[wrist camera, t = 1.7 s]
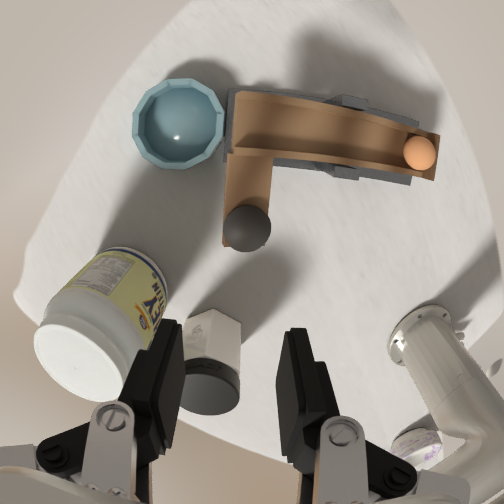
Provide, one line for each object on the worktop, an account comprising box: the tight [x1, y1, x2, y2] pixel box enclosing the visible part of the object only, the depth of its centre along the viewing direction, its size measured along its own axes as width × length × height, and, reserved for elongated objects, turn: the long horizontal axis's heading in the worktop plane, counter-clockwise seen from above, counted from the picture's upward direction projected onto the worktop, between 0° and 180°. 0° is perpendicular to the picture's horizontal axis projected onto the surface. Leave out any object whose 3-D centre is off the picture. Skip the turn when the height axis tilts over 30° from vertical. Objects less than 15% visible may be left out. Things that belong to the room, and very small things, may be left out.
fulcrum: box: [223, 89, 419, 186], centre depth 27 cm, size 23×8×8 cm, turn 85°
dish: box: [132, 78, 226, 170], centre depth 29 cm, size 10×10×3 cm
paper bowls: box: [389, 428, 442, 468], centre depth 54 cm, size 15×15×8 cm
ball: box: [403, 136, 436, 170], centre depth 25 cm, size 4×4×4 cm
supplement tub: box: [34, 247, 168, 402], centre depth 30 cm, size 12×12×17 cm
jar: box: [180, 309, 241, 415], centre depth 36 cm, size 9×8×12 cm
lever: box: [222, 91, 440, 252], centre depth 25 cm, size 22×13×3 cm, turn 85°
